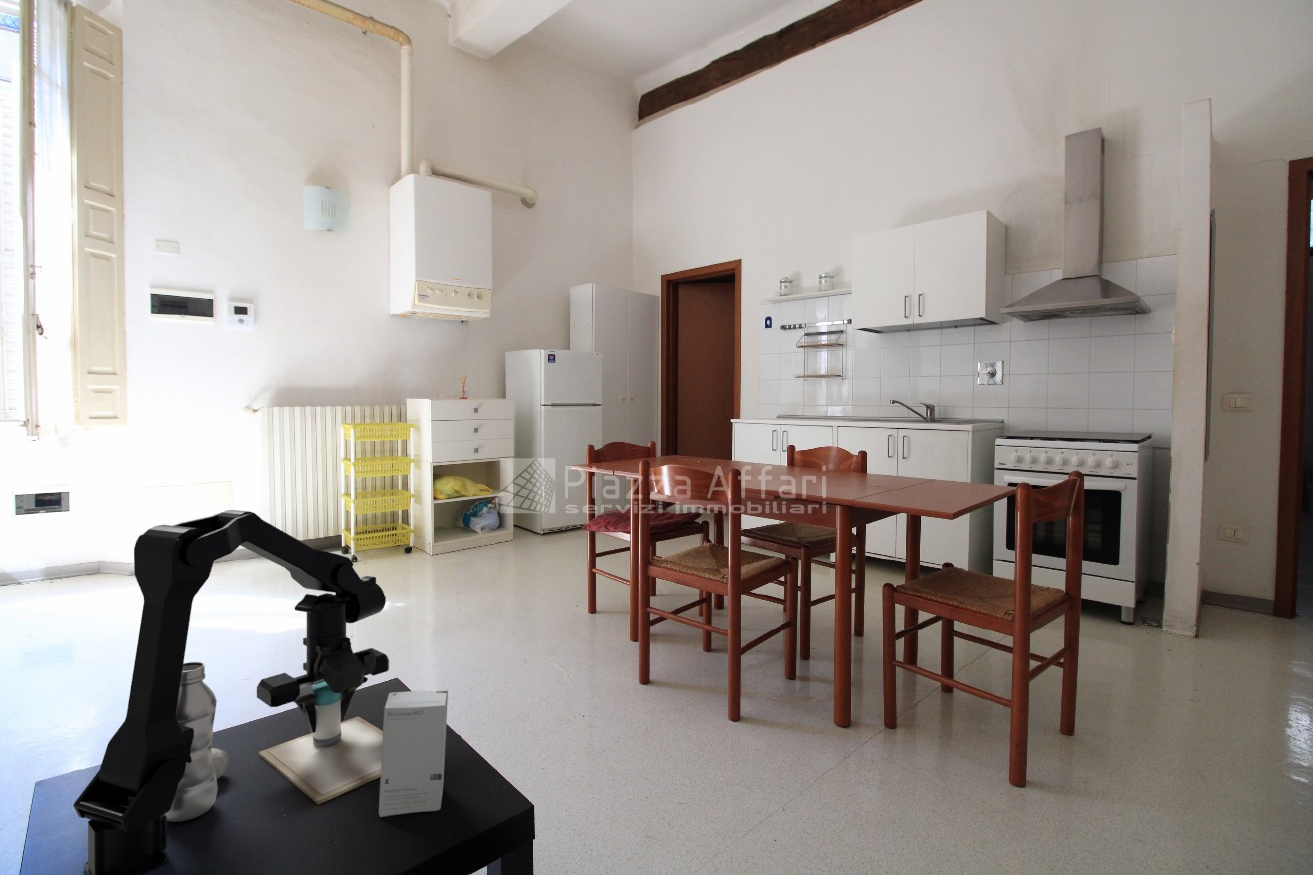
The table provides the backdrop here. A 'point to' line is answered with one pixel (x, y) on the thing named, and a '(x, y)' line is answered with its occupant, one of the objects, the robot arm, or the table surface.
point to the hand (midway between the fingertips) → (326, 726)
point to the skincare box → (413, 752)
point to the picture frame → (330, 761)
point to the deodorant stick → (327, 716)
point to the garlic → (219, 761)
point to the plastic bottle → (195, 746)
